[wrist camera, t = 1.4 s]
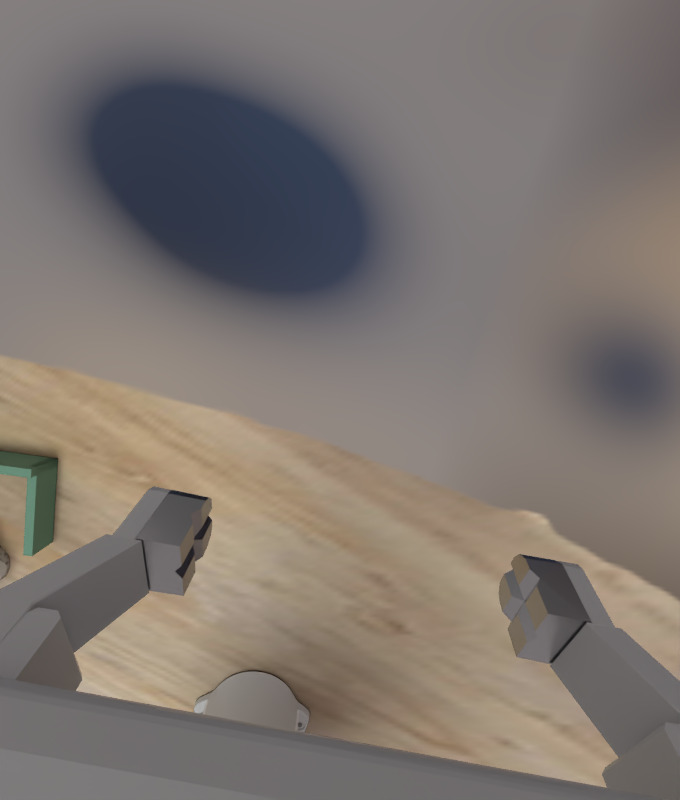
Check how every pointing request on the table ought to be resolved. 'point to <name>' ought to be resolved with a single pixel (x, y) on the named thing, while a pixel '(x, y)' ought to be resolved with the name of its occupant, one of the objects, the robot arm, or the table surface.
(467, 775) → the robot arm
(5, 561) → the mug
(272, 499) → the table surface
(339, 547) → the table surface
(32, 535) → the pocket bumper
